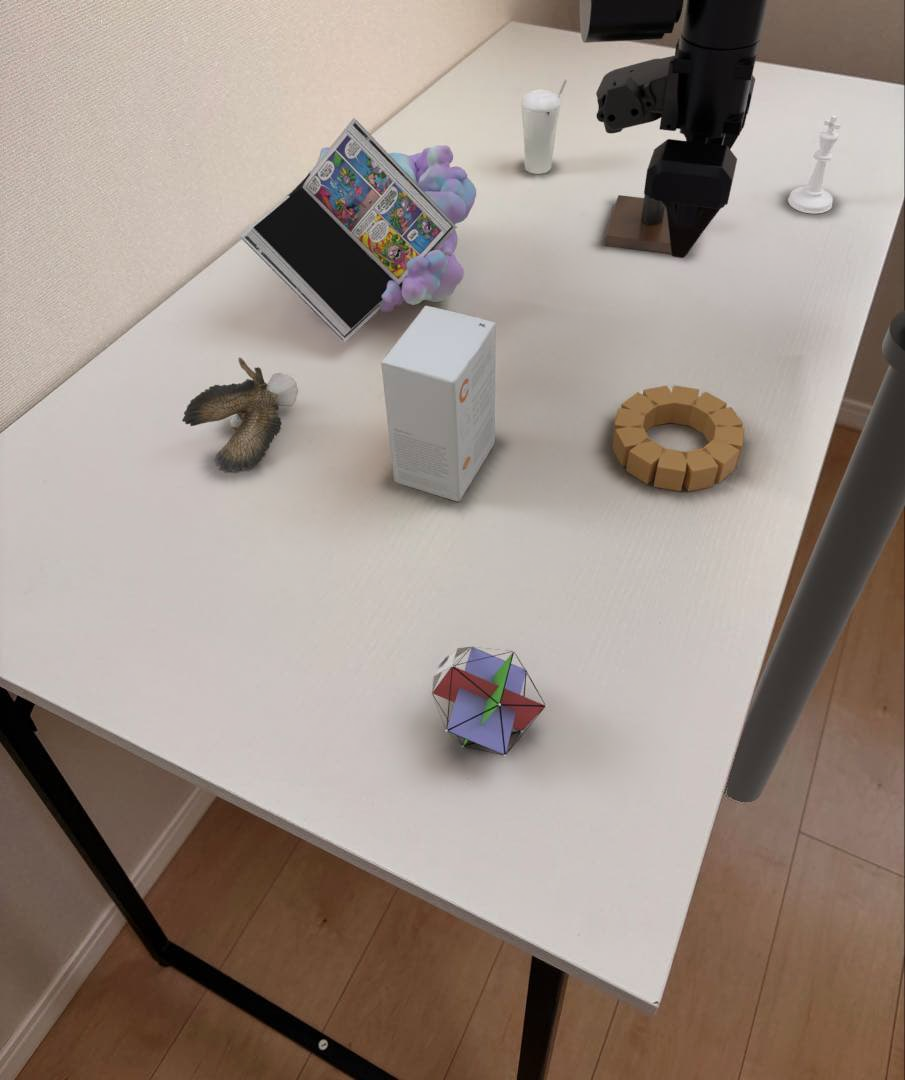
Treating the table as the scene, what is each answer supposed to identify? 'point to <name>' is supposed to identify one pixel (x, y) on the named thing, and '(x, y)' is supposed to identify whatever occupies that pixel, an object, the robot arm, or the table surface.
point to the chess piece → (817, 176)
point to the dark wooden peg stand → (639, 225)
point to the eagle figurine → (244, 415)
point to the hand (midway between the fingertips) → (685, 227)
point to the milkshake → (540, 128)
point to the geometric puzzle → (485, 699)
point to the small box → (441, 401)
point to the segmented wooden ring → (672, 464)
